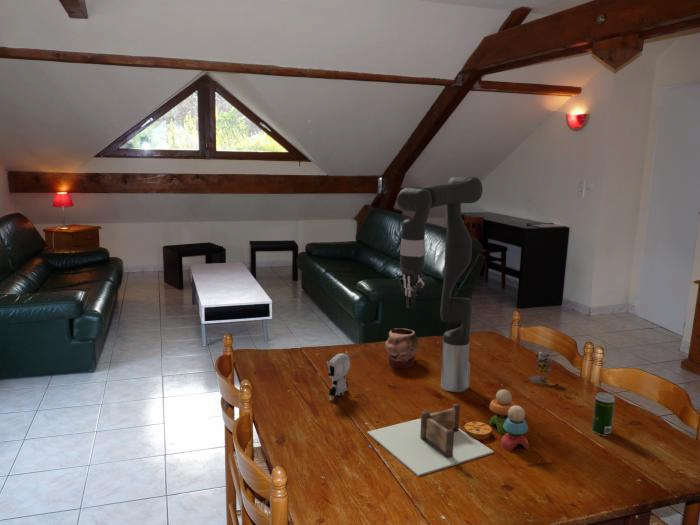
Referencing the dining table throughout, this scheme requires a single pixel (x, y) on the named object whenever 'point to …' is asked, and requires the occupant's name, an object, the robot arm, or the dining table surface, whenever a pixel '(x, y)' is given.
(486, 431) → the set of stacked toys
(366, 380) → the dining table surface
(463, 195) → the robot arm
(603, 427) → the beer can
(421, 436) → the fence fixed
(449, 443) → the panel
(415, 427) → the board
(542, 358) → the robot figurine
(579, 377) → the dining table surface
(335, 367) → the robot toy
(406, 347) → the decorative planter
